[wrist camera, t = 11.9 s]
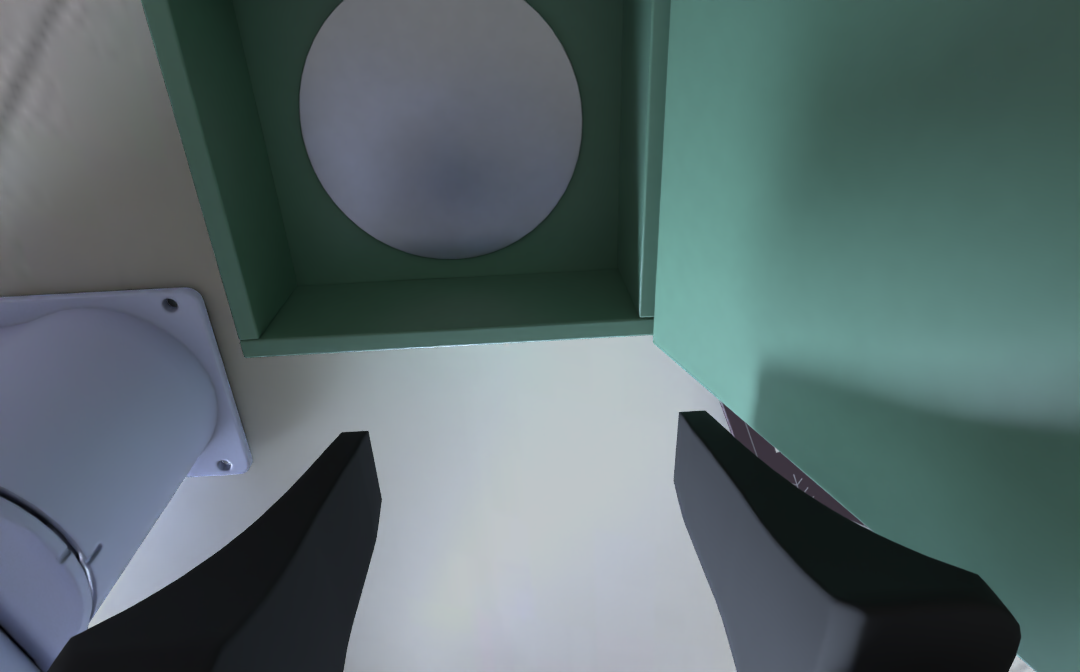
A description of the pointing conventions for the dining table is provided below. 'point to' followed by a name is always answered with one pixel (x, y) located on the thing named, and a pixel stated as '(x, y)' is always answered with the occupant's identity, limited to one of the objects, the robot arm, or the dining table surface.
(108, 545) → the robot arm
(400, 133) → the plate
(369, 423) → the dining table surface
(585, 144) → the box
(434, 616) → the dining table surface
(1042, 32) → the lid
